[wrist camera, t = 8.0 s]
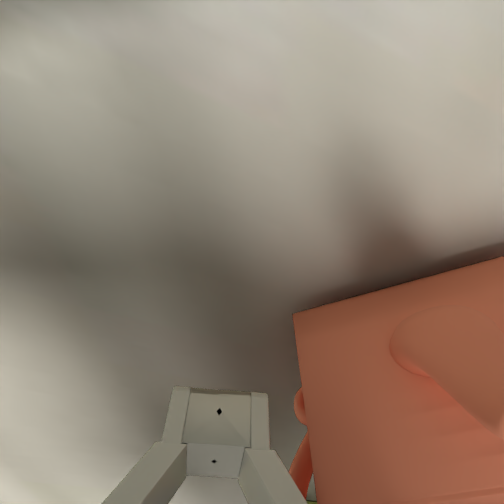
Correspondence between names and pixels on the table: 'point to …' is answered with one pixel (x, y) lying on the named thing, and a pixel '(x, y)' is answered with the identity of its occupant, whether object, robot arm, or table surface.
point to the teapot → (405, 392)
